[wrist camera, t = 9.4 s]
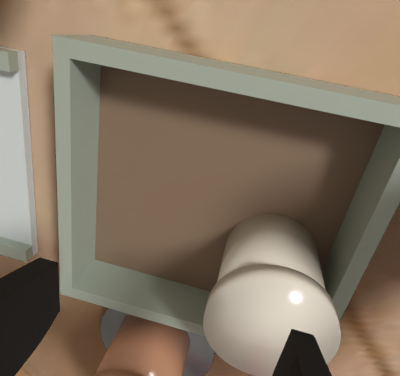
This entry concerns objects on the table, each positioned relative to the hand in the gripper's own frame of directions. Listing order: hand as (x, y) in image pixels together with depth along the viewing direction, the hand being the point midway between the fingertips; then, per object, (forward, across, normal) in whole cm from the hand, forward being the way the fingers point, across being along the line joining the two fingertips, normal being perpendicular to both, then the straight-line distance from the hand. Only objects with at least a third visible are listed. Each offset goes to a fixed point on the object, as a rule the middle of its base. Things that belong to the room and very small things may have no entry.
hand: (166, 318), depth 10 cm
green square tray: (+10, 0, +1) cm, 10 cm away
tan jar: (+10, +2, +13) cm, 16 cm away
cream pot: (+10, -4, +4) cm, 11 cm away
